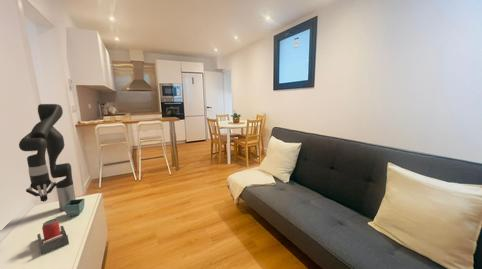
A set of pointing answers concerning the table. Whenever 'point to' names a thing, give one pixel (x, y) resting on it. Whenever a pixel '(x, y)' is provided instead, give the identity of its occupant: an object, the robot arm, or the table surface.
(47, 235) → the beer can
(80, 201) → the flower pot
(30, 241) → the table surface
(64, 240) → the lane
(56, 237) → the pusher
